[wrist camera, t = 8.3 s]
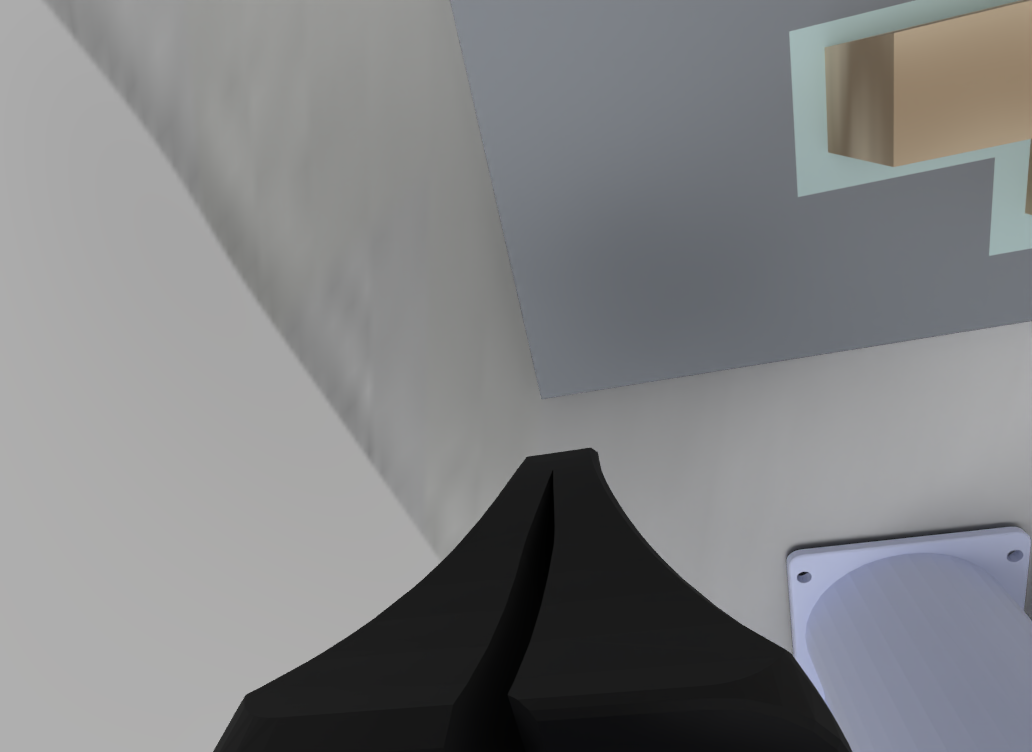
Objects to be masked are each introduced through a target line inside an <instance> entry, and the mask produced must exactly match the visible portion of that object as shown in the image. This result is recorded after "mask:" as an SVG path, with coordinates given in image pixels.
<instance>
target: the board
mask: <svg viewBox="0 0 1032 752" xmlns="http://www.w3.org/2000/svg"><path fill="white" fill-rule="evenodd" d="M1016 1H1020V0H450V2H451V7H452V11H453V15H454V20H455V24H456V29H457V33H458V37H459V42H460V46H461V50H462V55H463V59H464V63H465V68H466V72H467V76H468V81H469V85H470V90H471V94H472V98H473V103H474V107H475V111H476V116H477V120H478V124H479V129H480V133H481V137H482V142H483V146H484V151H485V155H486V159H487V164H488V168H489V172H490V177H491V181H492V185H493V190H494V194H495V199H496V203H497V207H498V212H499V216H500V220H501V225H502V229H503V233H504V238H505V242H506V246H507V251H508V255H509V260H510V264H511V268H512V273H513V277H514V281H515V286H516V290H517V294H518V299H519V303H520V307H521V312H522V316H523V321H524V325H525V329H526V334H527V338H528V342H529V347H530V351H531V355H532V360H533V364H534V368H535V373H536V377H537V382H538V386H539V390H540V395H541V399H546V398H552V397H558V396H565V395H571V394H577V393H583V392H590V391H596V390H602V389H609V388H615V387H621V386H627V385H634V384H640V383H646V382H652V381H659V380H665V379H671V378H677V377H684V376H690V375H696V374H702V373H709V372H715V371H721V370H728V369H734V368H740V367H746V366H753V365H759V364H765V363H771V362H778V361H784V360H790V359H796V358H803V357H809V356H815V355H821V354H828V353H834V352H840V351H847V350H853V349H859V348H865V347H872V346H878V345H884V344H890V343H897V342H903V341H909V340H915V339H922V338H928V337H934V336H940V335H947V334H953V333H959V332H966V331H972V330H978V329H984V328H991V327H997V326H1003V325H1009V324H1016V323H1022V322H1028V321H1032V215H1030V214H1026V213H1025V206H1026V193H1027V181H1028V168H1029V156H1030V144H1031V139H1028V140H1023V141H1018V142H1014V143H1009V144H1004V145H999V146H994V147H989V148H984V149H979V150H975V151H970V152H965V153H960V154H955V155H950V156H945V157H941V158H936V159H931V160H926V161H921V162H916V163H911V164H907V165H902V166H897V167H891V166H886V165H882V164H877V163H873V162H868V161H864V160H860V159H855V158H851V157H846V156H842V155H837V154H833V153H828V136H827V106H826V77H825V47H829V46H833V45H837V44H842V43H846V42H850V41H854V40H858V39H862V38H866V37H871V36H875V35H879V34H883V33H887V32H891V31H896V30H900V29H904V28H908V27H912V26H916V25H920V24H925V23H929V22H933V21H937V20H941V19H945V18H949V17H954V16H958V15H962V14H966V13H970V12H974V11H979V10H983V9H987V8H991V7H995V6H999V5H1003V4H1008V3H1012V2H1016Z"/></svg>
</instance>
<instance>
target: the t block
mask: <svg viewBox="0 0 1032 752" xmlns="http://www.w3.org/2000/svg"><path fill="white" fill-rule="evenodd" d="M825 77H826V106H827V136H828V153H833V154H837V155H842V156H846V157H851V158H855V159H860V160H864V161H868V162H873V163H877V164H882V165H886V166H891V167H897V166H902V165H907V164H911V163H916V162H921V161H926V160H931V159H936V158H941V157H945V156H950V155H955V154H960V153H965V152H970V151H975V150H979V149H984V148H989V147H994V146H999V145H1004V144H1009V143H1014V142H1018V141H1023V140H1028V139H1031V144H1030V156H1029V168H1028V181H1027V193H1026V206H1025V213H1026V214H1030V215H1032V0H1020V1H1016V2H1012V3H1008V4H1003V5H999V6H995V7H991V8H987V9H983V10H979V11H974V12H970V13H966V14H962V15H958V16H954V17H949V18H945V19H941V20H937V21H933V22H929V23H925V24H920V25H916V26H912V27H908V28H904V29H900V30H896V31H891V32H887V33H883V34H879V35H875V36H871V37H866V38H862V39H858V40H854V41H850V42H846V43H842V44H837V45H833V46H829V47H825Z"/></svg>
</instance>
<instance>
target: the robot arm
mask: <svg viewBox="0 0 1032 752" xmlns="http://www.w3.org/2000/svg"><path fill="white" fill-rule="evenodd" d="M1030 549H1031V538H1030V537H1029V535H1028V534H1027V533H1026V532H1025V531H1024V530H1023V529H1021V528H1019V527H1003V528H993V529H984V530H975V531H966V532H957V533H948V534H938V535H929V536H920V537H911V538H902V539H892V540H883V541H874V542H865V543H856V544H846V545H837V546H828V547H819V548H810V549H800V550H796V551H794V552H792V553H791V554H790V555H789V556H788V557H787V562H786V563H787V576H788V589H789V602H790V616H791V629H792V642H793V655H792V654H791V653H790V652H788V651H787V650H785V649H783V648H782V647H780V646H778V645H776V644H775V643H773V642H771V641H770V640H768V639H766V638H764V637H763V636H761V635H759V634H757V633H756V632H754V631H752V630H750V629H749V628H747V627H745V626H743V625H742V624H740V623H739V622H738V621H736V620H735V619H733V618H732V617H730V616H729V615H728V614H726V613H725V612H723V611H722V610H721V609H719V608H718V607H716V606H715V605H714V604H713V603H712V602H710V601H709V600H708V599H707V598H705V597H704V596H703V595H702V594H701V593H699V592H698V591H697V590H696V589H695V588H693V587H692V586H691V585H690V584H688V583H687V582H686V581H685V580H684V579H682V578H681V577H680V576H679V575H678V574H677V573H676V572H675V571H674V570H673V569H672V568H671V567H670V566H669V565H668V564H667V563H666V562H665V561H664V560H663V559H662V558H661V557H660V556H659V555H658V554H657V553H656V551H655V550H654V549H653V548H652V547H651V546H650V545H649V544H648V542H647V541H646V540H645V539H644V538H643V536H642V535H641V534H640V533H639V532H638V530H637V529H636V528H635V526H634V525H633V524H632V522H631V521H630V520H629V518H628V517H627V515H626V514H625V512H624V511H623V509H622V508H621V506H620V505H619V503H618V501H617V500H616V498H615V496H614V495H613V493H612V492H611V490H610V488H609V486H608V484H607V482H606V480H605V478H604V476H603V473H602V471H601V466H600V461H599V456H598V452H596V451H595V450H593V449H592V448H585V449H578V450H572V451H565V452H558V453H551V454H544V455H537V456H530V457H527V458H526V459H525V460H524V461H523V463H522V464H521V465H520V467H519V468H518V469H517V471H516V472H515V473H514V475H513V476H512V478H511V479H510V480H509V482H508V483H507V485H506V486H505V487H504V489H503V490H502V491H501V493H500V494H499V496H498V497H497V498H496V500H495V501H494V502H493V503H492V505H491V506H490V507H489V509H488V510H487V511H486V512H485V514H484V515H483V516H482V518H481V519H480V520H479V521H478V522H477V524H476V525H475V526H474V527H473V528H472V529H471V530H470V532H469V533H468V534H467V535H466V536H465V537H464V539H463V540H462V541H461V542H460V543H459V544H458V545H457V547H456V548H455V549H454V550H453V551H452V552H451V553H450V554H449V555H448V556H447V557H446V558H445V559H444V560H443V561H442V562H441V563H440V564H439V565H438V566H437V567H436V568H435V569H433V570H432V571H431V572H430V573H429V574H428V575H427V576H426V577H425V578H424V579H423V580H422V581H421V582H419V583H418V584H417V585H416V586H415V587H414V588H412V589H411V590H410V591H409V592H407V593H406V594H405V595H403V596H402V597H401V598H400V599H398V600H397V601H396V602H395V603H393V604H392V605H391V606H390V607H388V608H387V609H386V610H384V611H383V612H382V613H381V614H379V615H378V616H377V617H376V618H374V619H373V620H372V621H370V622H369V623H367V624H366V625H364V626H363V627H361V628H360V629H359V630H357V631H356V632H354V633H353V634H351V635H350V636H348V637H347V638H345V639H344V640H342V641H340V642H339V643H337V644H336V645H334V646H333V647H331V648H329V649H328V650H326V651H325V652H323V653H321V654H320V655H318V656H316V657H315V658H313V659H311V660H310V661H308V662H306V663H304V664H303V665H301V666H299V667H297V668H295V669H293V670H292V671H290V672H288V673H286V674H284V675H283V676H281V677H279V678H277V679H275V680H273V681H271V682H270V683H268V684H266V685H264V686H262V687H260V688H259V689H257V690H254V691H253V692H250V693H249V694H247V695H246V696H245V697H244V699H243V701H242V702H241V704H240V706H239V707H238V709H237V711H236V712H235V714H234V716H233V718H232V719H231V721H230V723H229V725H228V727H227V728H226V730H225V732H224V734H223V736H222V737H221V739H220V741H219V742H218V744H217V746H216V748H215V750H214V751H213V752H1032V620H1031V619H1030V618H1029V617H1028V616H1027V615H1026V613H1025V612H1024V606H1025V596H1026V587H1027V577H1028V568H1029V558H1030ZM1013 550H1015V551H1014V552H1013V553H1012V554H1008V553H1009V552H1011V551H1013ZM1007 554H1008V555H1007ZM801 572H807V573H806V574H805V575H802V576H799V575H798V574H799V573H801ZM793 656H794V657H793Z"/></svg>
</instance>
